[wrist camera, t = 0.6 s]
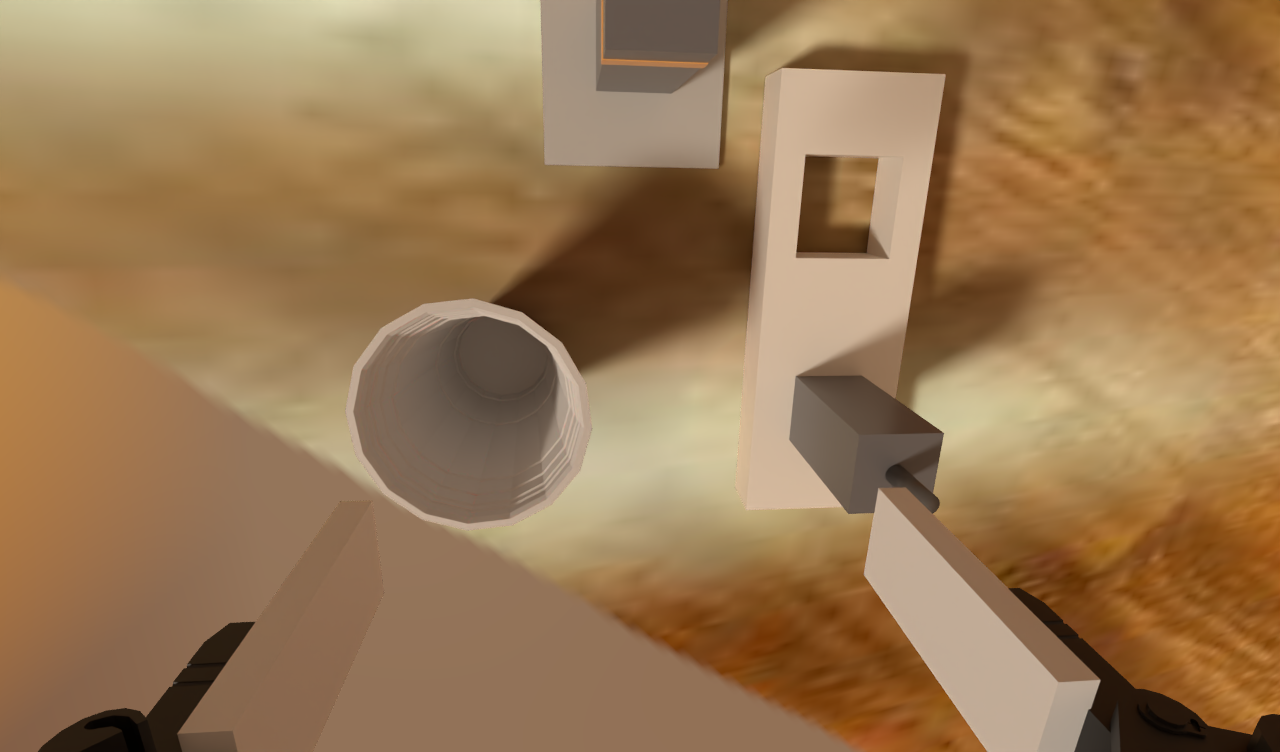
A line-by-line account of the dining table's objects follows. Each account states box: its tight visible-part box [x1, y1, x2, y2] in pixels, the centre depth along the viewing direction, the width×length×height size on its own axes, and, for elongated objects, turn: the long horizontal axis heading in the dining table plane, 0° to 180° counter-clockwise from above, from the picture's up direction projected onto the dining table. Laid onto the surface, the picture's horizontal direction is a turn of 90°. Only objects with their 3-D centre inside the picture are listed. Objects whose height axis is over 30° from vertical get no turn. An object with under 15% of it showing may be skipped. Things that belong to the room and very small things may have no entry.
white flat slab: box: [541, 0, 728, 169], centre depth 34 cm, size 12×10×1 cm
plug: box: [596, 0, 720, 94], centre depth 28 cm, size 4×4×12 cm
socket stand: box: [735, 68, 946, 514], centre depth 32 cm, size 26×9×15 cm, turn 179°
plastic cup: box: [345, 299, 592, 530], centre depth 33 cm, size 11×11×12 cm
